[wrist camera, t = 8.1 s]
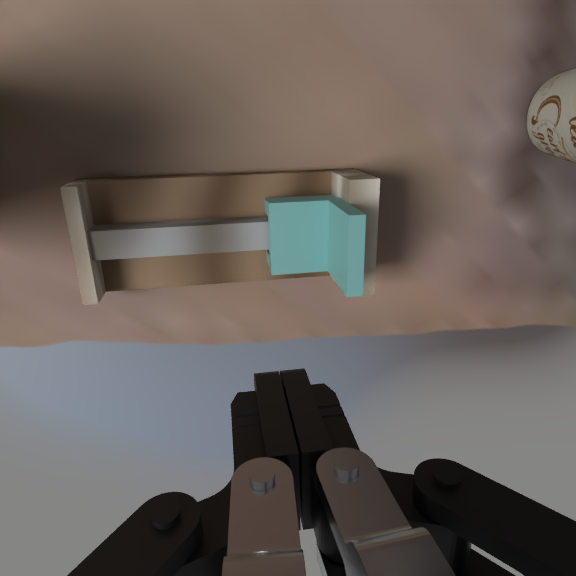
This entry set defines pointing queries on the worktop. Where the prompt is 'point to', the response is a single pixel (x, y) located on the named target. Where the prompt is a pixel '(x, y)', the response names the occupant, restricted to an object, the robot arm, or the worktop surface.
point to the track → (197, 206)
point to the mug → (555, 116)
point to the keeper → (317, 239)
